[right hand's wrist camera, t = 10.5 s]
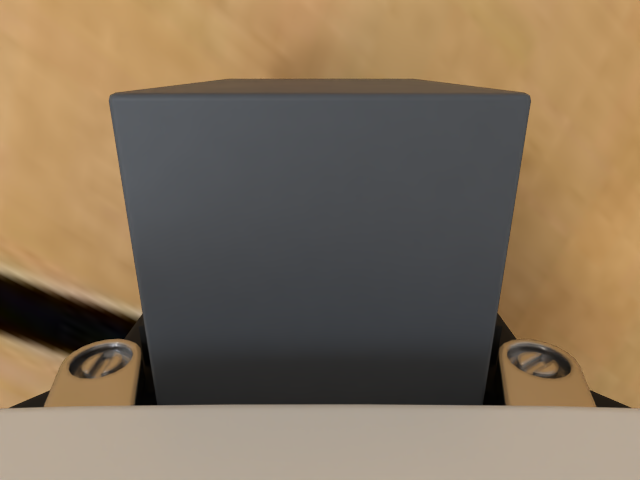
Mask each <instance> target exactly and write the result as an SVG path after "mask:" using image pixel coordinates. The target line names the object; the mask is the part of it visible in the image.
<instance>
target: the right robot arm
mask: <svg viewBox="0 0 640 480" xmlns="http://www.w3.org/2000/svg"><path fill="white" fill-rule="evenodd" d="M0 480H640V409H637V408H630V407H628V406H626V405H623V404H621V403H619V402H616V401H614V400H612V399H609V398H607V397H605V396H602V395H600V394H598V393H595V392H593V391H591V390H589V387H588V385H587V382H586V380H585V378H584V375H583V373H582V370H581V368H580V366H579V364H578V363H577V361H576V360H575V359H574V358H573V357H572V356H571V355H570V354H568V353H567V352H565V351H564V350H562V349H560V348H558V347H556V346H553V345H551V344H548V343H545V342H541V341H536V340H529V339H516V338H515V337H514V335H513V334H512V332H511V331H510V330H509V328H508V327H507V326H506V324H505V323H504V321H503V320H502V319H501V317H500V316H499V314H498V313H497V318H496V324H495V331H494V337H493V343H492V350H491V356H490V362H489V369H488V375H487V381H486V387H485V394H484V400H483V405H374V404H289V405H157V400H156V394H155V388H154V381H153V375H152V369H151V362H150V356H149V350H148V344H147V337H146V331H145V325H144V318H143V314H142V315H141V317H140V318H139V319H138V321H137V322H136V324H135V325H134V326H133V328H132V329H131V331H130V332H129V333H128V335H127V336H126V337H125V339H124V340H123V339H111V340H104V341H99V342H95V343H92V344H89V345H87V346H84V347H82V348H80V349H78V350H76V351H75V352H73V353H72V354H70V355H69V356H68V357H67V358H66V359H65V360H64V361H63V363H62V364H61V366H60V368H59V370H58V373H57V375H56V378H55V380H54V382H53V385H52V387H51V390H50V391H48V392H45V393H43V394H40V395H38V396H36V397H33V398H31V399H29V400H26V401H24V402H22V403H19V404H17V405H15V406H12V407H10V408H4V409H0Z"/></svg>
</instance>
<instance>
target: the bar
mask: <svg viewBox="0 0 640 480" xmlns="http://www.w3.org/2000/svg"><path fill="white" fill-rule="evenodd" d="M530 103H531V99H530V95H528V94H526V93H522V92H514V91H506V90H498V89H490V88H482V87H474V86H466V85H458V84H450V83H442V82H434V81H426V80H418V79H224V80H216V81H208V82H200V83H191V84H183V85H175V86H167V87H159V88H150V89H142V90H134V91H126V92H118V93H114V94H112V95H110V98H109V104H110V110H111V117H112V123H113V129H114V136H115V142H116V148H117V155H118V161H119V167H120V173H121V180H122V186H123V192H124V199H125V205H126V211H127V218H128V224H129V230H130V236H131V243H132V249H133V255H134V262H135V268H136V274H137V281H138V287H139V293H140V299H141V306H142V312H143V318H144V325H145V331H146V337H147V344H148V350H149V356H150V362H151V369H152V375H153V381H154V388H155V394H156V400H157V405H289V404H374V405H483V400H484V394H485V387H486V381H487V375H488V369H489V362H490V356H491V350H492V343H493V337H494V331H495V324H496V318H497V312H498V305H499V299H500V293H501V286H502V280H503V274H504V267H505V261H506V255H507V248H508V242H509V236H510V229H511V223H512V217H513V210H514V204H515V198H516V191H517V185H518V179H519V172H520V166H521V160H522V153H523V147H524V141H525V134H526V128H527V122H528V115H529V109H530Z"/></svg>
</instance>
